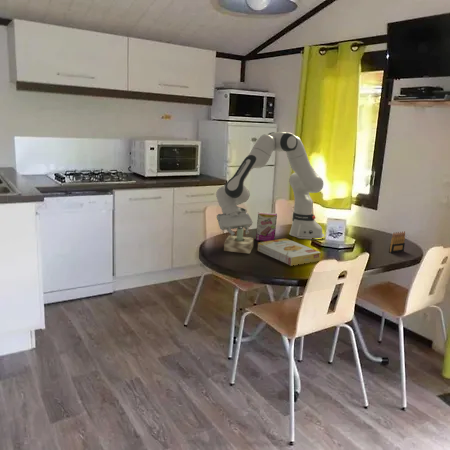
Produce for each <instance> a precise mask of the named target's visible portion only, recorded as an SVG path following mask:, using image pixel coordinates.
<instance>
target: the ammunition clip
mask: <svg viewBox="0 0 450 450" xmlns="http://www.w3.org/2000/svg"><path fill="white" fill-rule="evenodd" d="M405 241H406V231H395V232H393V233H392V235H391V240H390V244H389V249H388V253H390V254H395V253H394V252H396V253H401V251H403V252H405V244H406V243H405Z"/></svg>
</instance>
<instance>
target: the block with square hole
mask: <svg viewBox="0 0 450 450" xmlns="http://www.w3.org/2000/svg"><path fill="white" fill-rule="evenodd" d="M236 239H237V235H234V236H231V234H230V235H228V236H227V238H225V240H224V242H223V243H224V244H223V251H224V252H232V253H233V252H234V253H239V254H240V253H242V254H251V252H252V250H253V249H254V244H255V241H254V240H255V238H254V237H249V236H243V241H236Z"/></svg>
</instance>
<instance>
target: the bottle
mask: <svg viewBox="0 0 450 450" xmlns="http://www.w3.org/2000/svg"><path fill="white" fill-rule="evenodd" d="M244 232H245V228H243V227H238V228H236V236H237V239H236V241H243V237H244Z"/></svg>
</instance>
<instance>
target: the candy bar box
mask: <svg viewBox="0 0 450 450" xmlns="http://www.w3.org/2000/svg"><path fill="white" fill-rule="evenodd" d="M277 218H278V214H277V213H275V212H274V213H273V212H265V211H264V212H263V211H258V212H257V223H256V231H255V232H256V234H255V241H260V242H265V241H271V240H276V231H277V230H276V229H277Z"/></svg>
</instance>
